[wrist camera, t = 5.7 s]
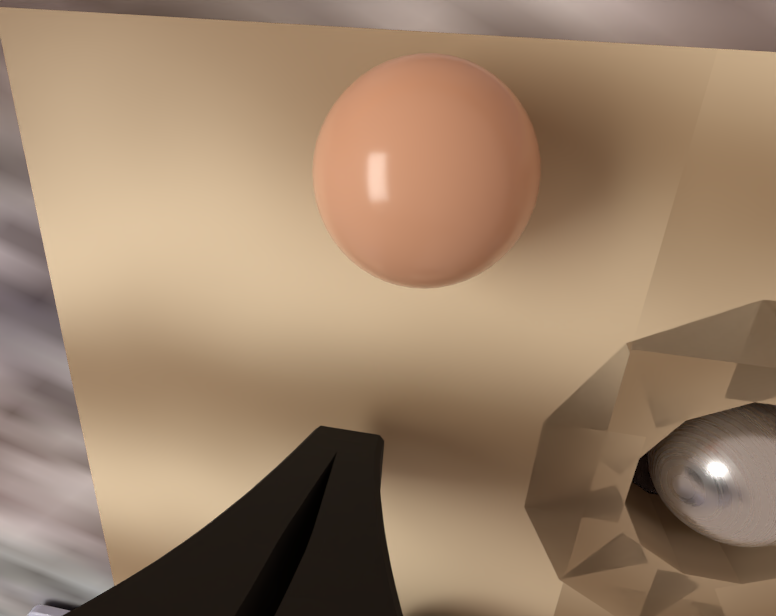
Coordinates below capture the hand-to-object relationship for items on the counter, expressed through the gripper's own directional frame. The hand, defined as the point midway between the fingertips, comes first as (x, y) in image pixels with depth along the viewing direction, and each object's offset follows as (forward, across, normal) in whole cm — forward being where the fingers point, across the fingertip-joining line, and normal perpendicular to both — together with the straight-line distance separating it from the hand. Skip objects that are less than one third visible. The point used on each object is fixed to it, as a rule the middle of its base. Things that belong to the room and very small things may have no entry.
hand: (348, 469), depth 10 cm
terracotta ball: (-1, -1, -6) cm, 6 cm away
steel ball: (+2, -8, 0) cm, 8 cm away
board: (+3, -3, 0) cm, 5 cm away
